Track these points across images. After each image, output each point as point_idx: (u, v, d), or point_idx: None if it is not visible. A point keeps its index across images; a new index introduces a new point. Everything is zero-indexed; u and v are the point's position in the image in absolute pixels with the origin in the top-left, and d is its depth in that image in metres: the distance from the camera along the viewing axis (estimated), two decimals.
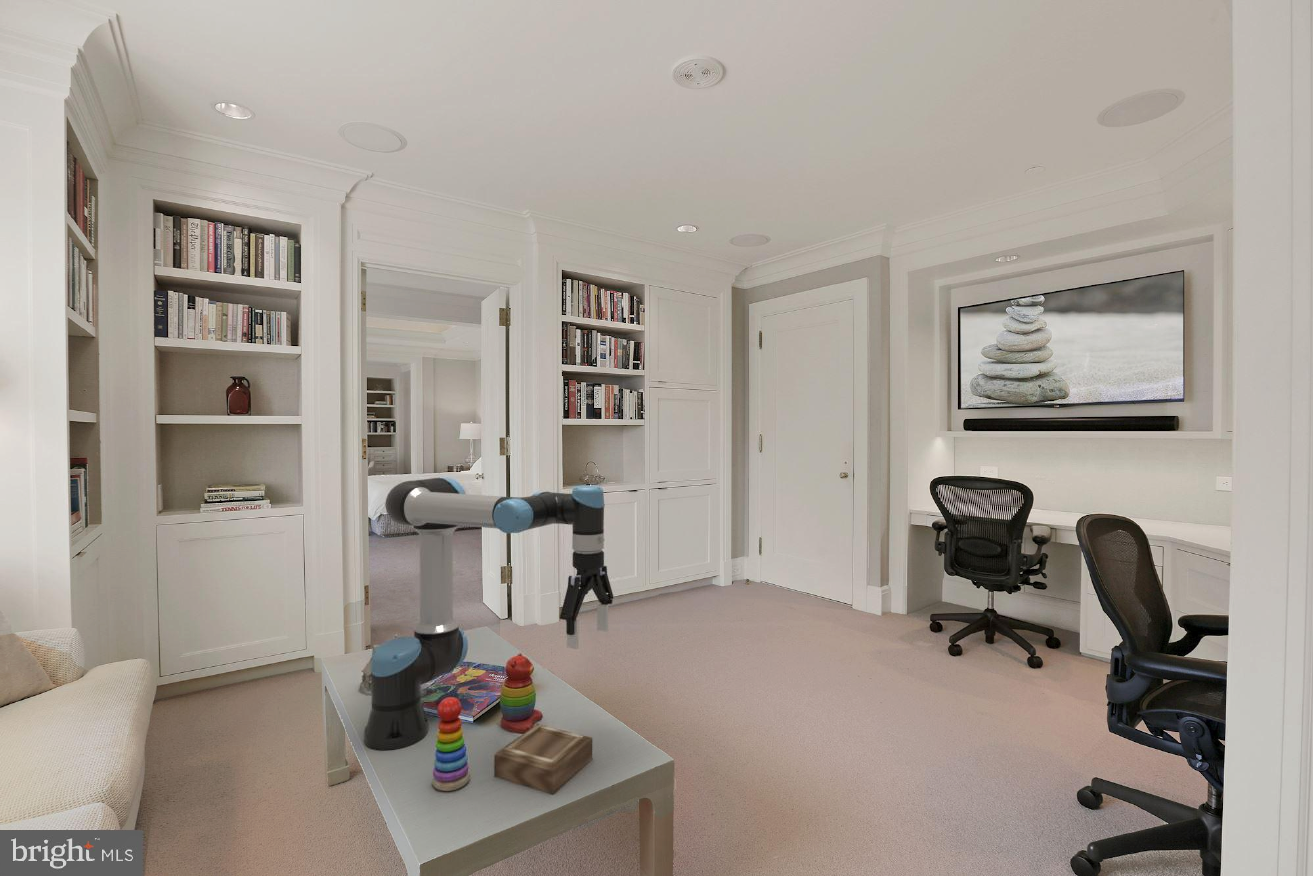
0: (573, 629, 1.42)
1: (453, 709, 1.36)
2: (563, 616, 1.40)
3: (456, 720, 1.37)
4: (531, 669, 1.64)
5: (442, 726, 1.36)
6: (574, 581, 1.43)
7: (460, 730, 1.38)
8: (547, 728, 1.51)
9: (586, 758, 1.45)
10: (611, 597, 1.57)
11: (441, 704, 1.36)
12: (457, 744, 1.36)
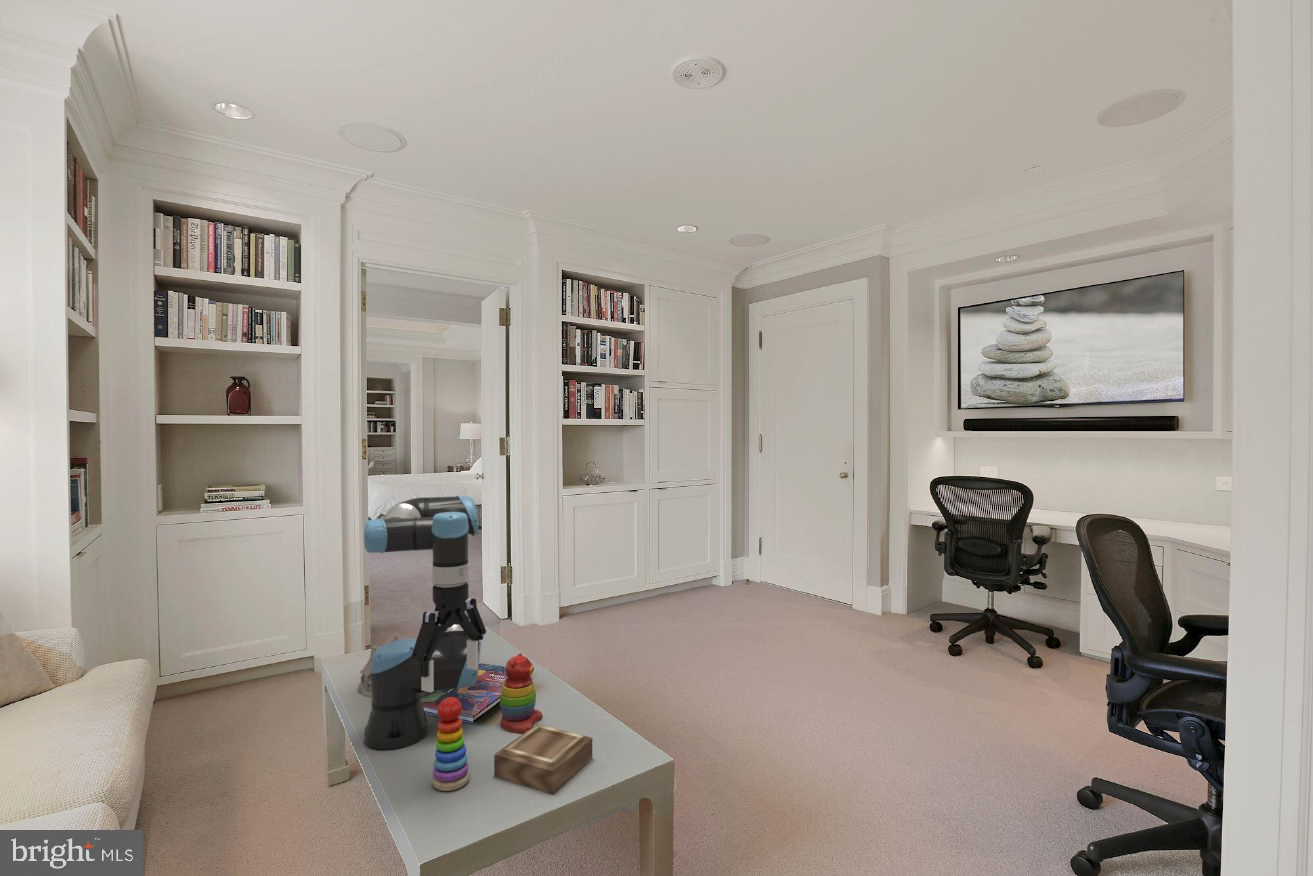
0: (427, 671, 1.30)
1: (453, 709, 1.36)
2: (414, 657, 1.28)
3: (456, 720, 1.37)
4: (531, 669, 1.64)
5: (442, 726, 1.36)
6: (428, 618, 1.31)
7: (460, 730, 1.38)
8: (547, 728, 1.51)
9: (586, 758, 1.45)
10: (483, 632, 1.45)
11: (441, 704, 1.36)
12: (457, 744, 1.36)
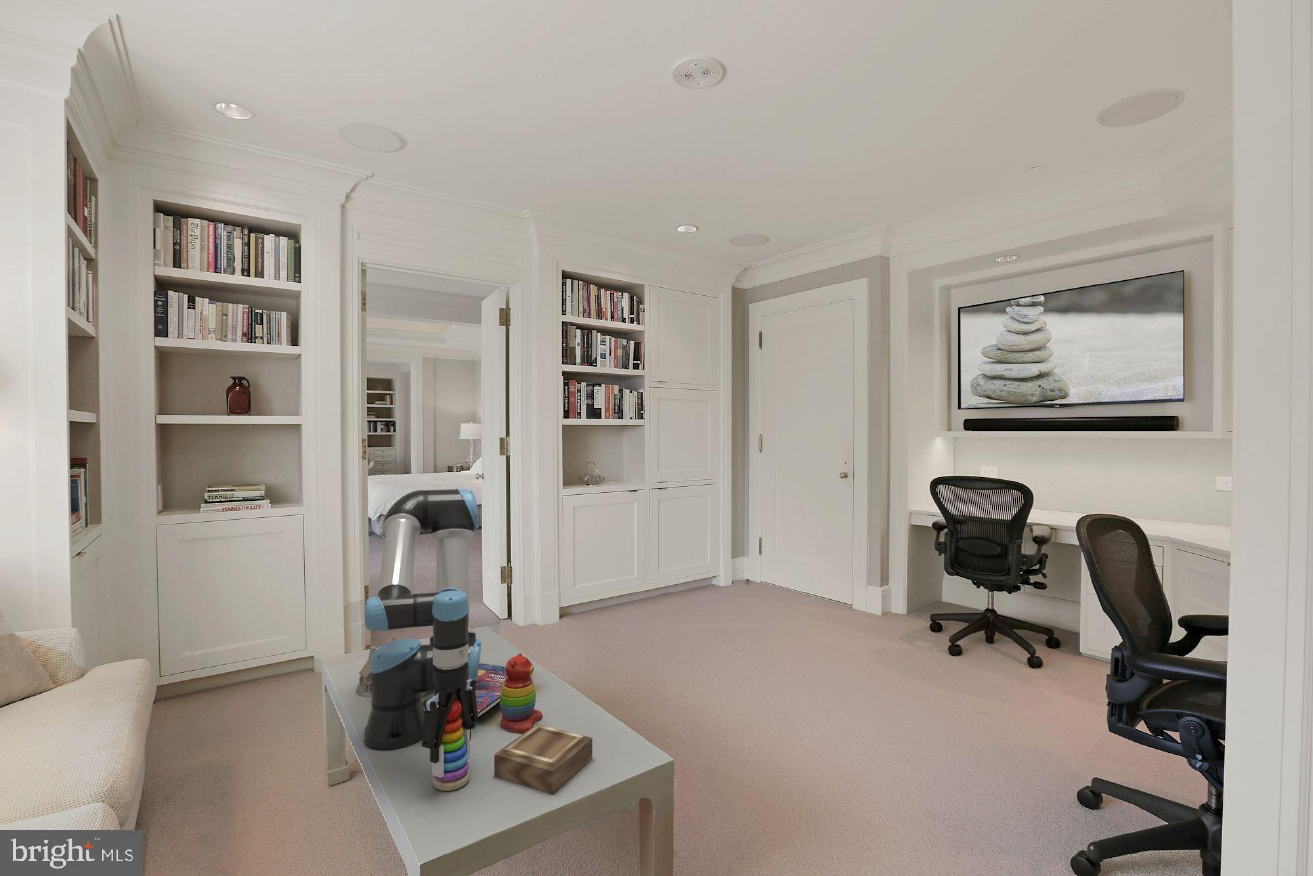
0: (438, 756, 1.33)
1: (453, 709, 1.36)
2: (424, 744, 1.31)
3: (456, 720, 1.37)
4: (531, 669, 1.64)
5: None
6: (430, 707, 1.31)
7: (460, 730, 1.38)
8: (547, 728, 1.51)
9: (586, 758, 1.45)
10: (475, 719, 1.43)
11: None
12: (458, 744, 1.36)
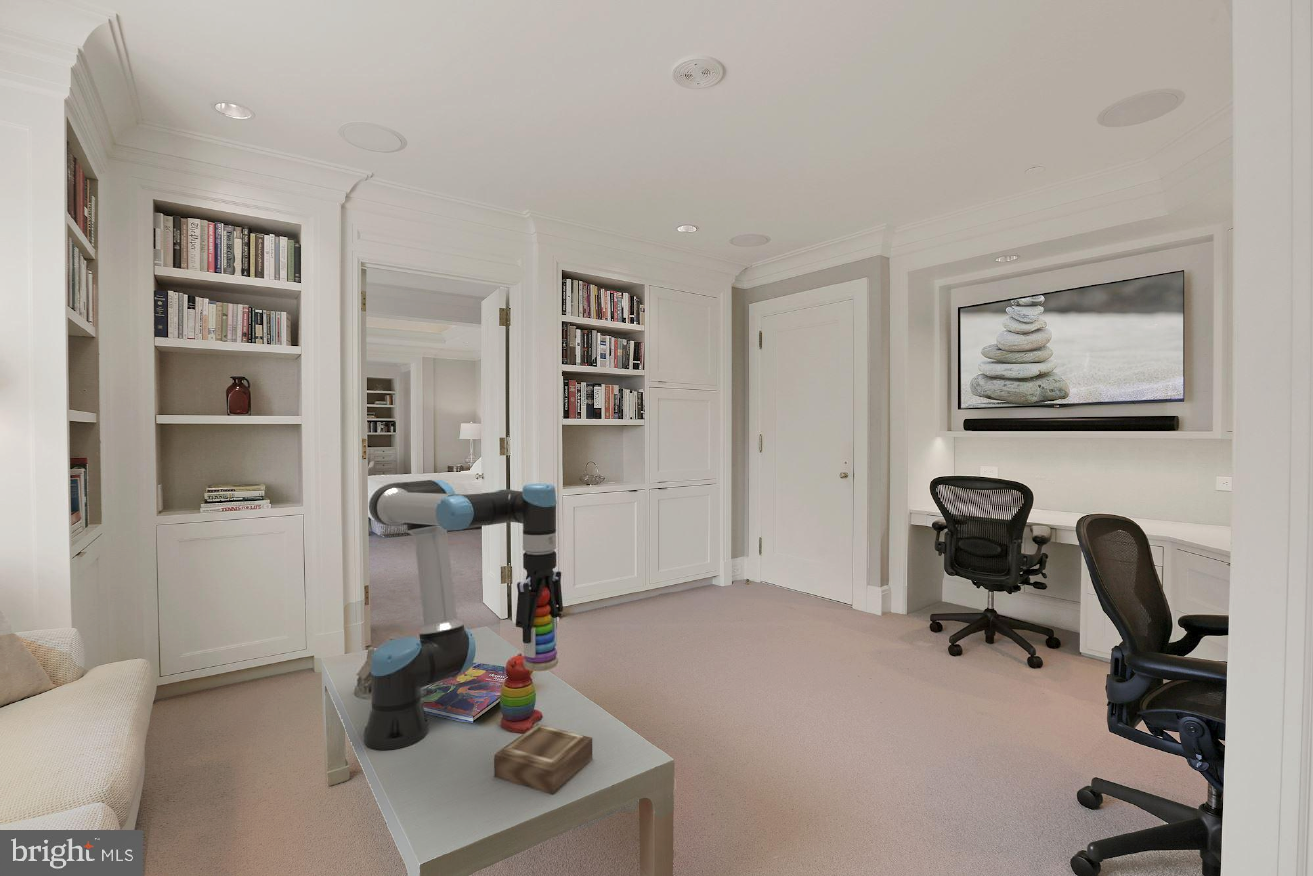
0: (530, 637, 1.39)
1: (543, 594, 1.41)
2: (518, 624, 1.37)
3: (545, 606, 1.43)
4: None
5: None
6: (523, 588, 1.37)
7: (549, 615, 1.43)
8: (547, 728, 1.51)
9: (586, 758, 1.45)
10: (560, 609, 1.48)
11: None
12: (547, 627, 1.41)
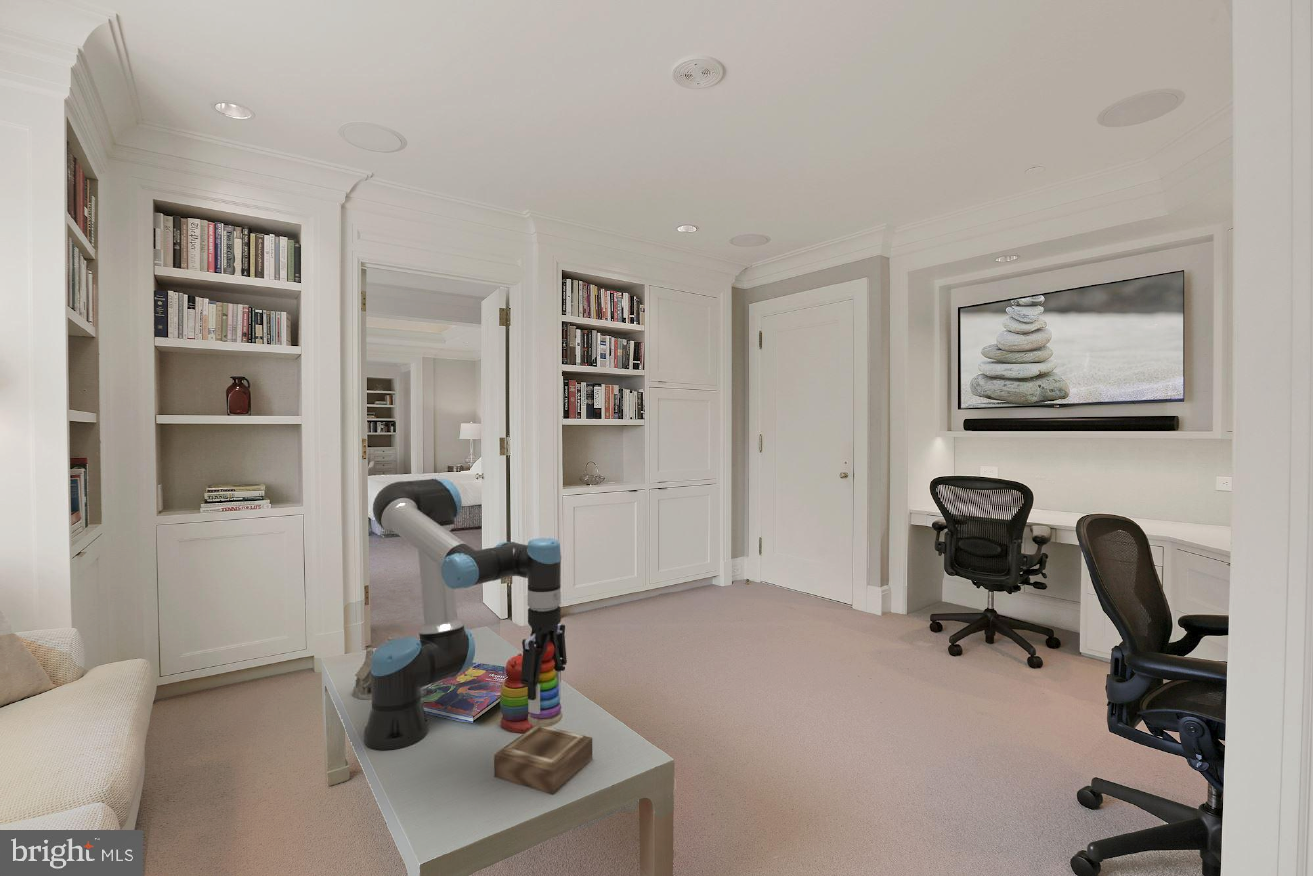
0: (535, 694, 1.39)
1: (548, 650, 1.42)
2: (523, 681, 1.37)
3: (550, 661, 1.43)
4: None
5: None
6: (528, 646, 1.37)
7: (553, 670, 1.44)
8: (547, 728, 1.51)
9: (586, 758, 1.45)
10: (564, 662, 1.49)
11: None
12: (552, 683, 1.42)
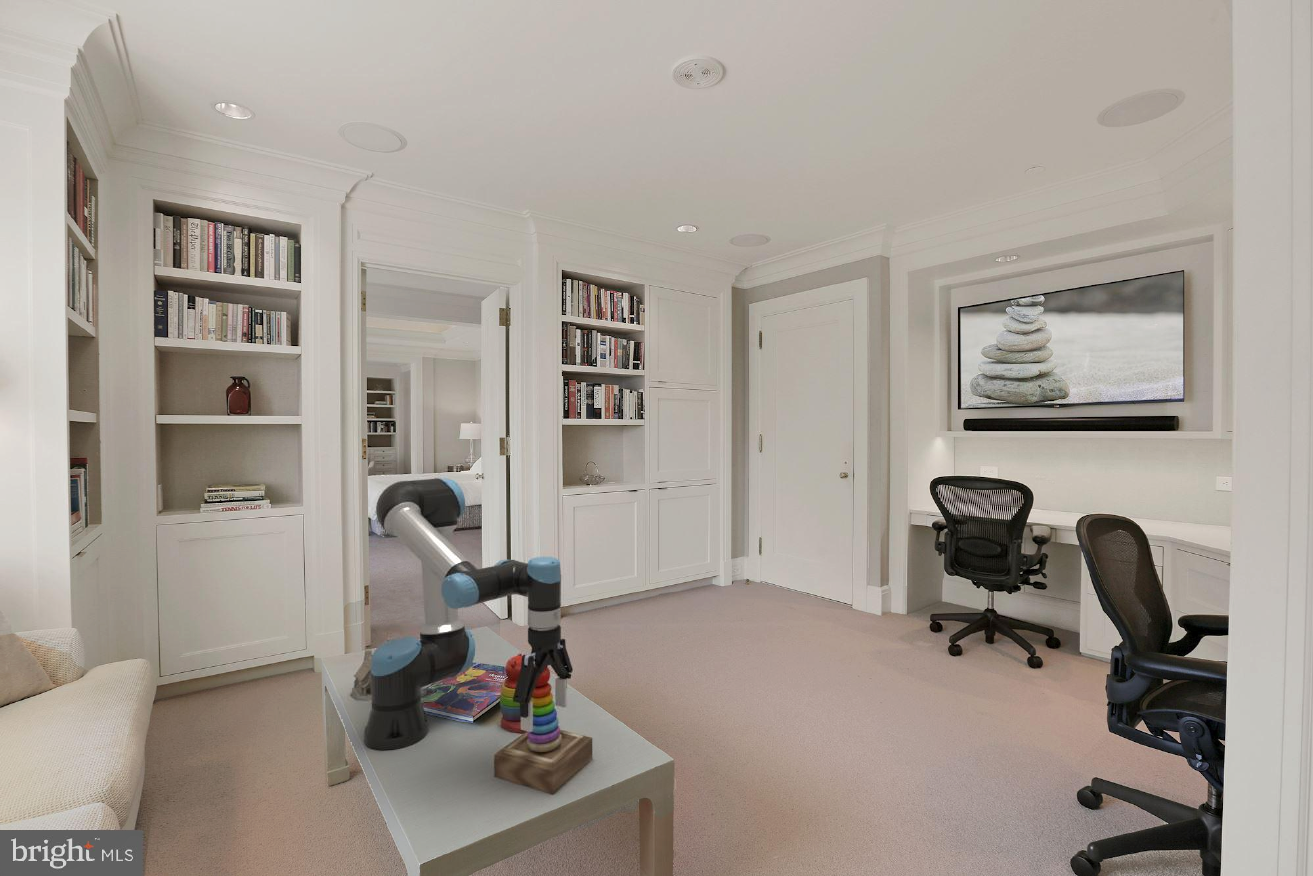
0: (527, 711, 1.37)
1: (544, 675, 1.42)
2: (516, 699, 1.35)
3: (546, 685, 1.43)
4: None
5: (534, 691, 1.42)
6: (528, 661, 1.37)
7: (550, 694, 1.44)
8: None
9: (586, 758, 1.45)
10: (570, 670, 1.51)
11: None
12: (549, 707, 1.42)
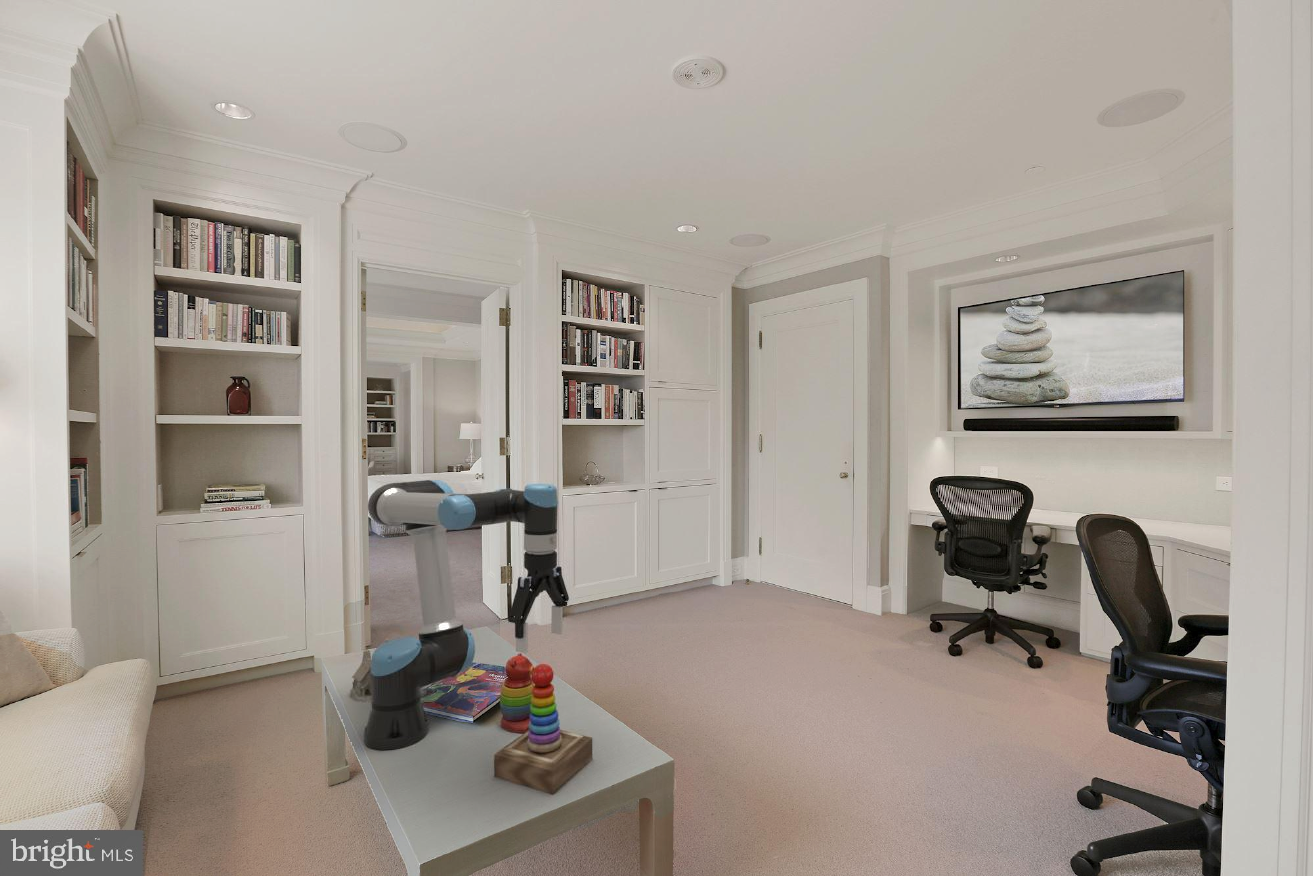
0: (522, 632, 1.37)
1: (547, 675, 1.42)
2: (511, 619, 1.35)
3: (549, 686, 1.44)
4: (531, 669, 1.64)
5: (536, 691, 1.42)
6: (523, 583, 1.38)
7: (553, 695, 1.44)
8: None
9: (586, 758, 1.45)
10: (566, 599, 1.52)
11: (535, 670, 1.43)
12: (552, 708, 1.42)
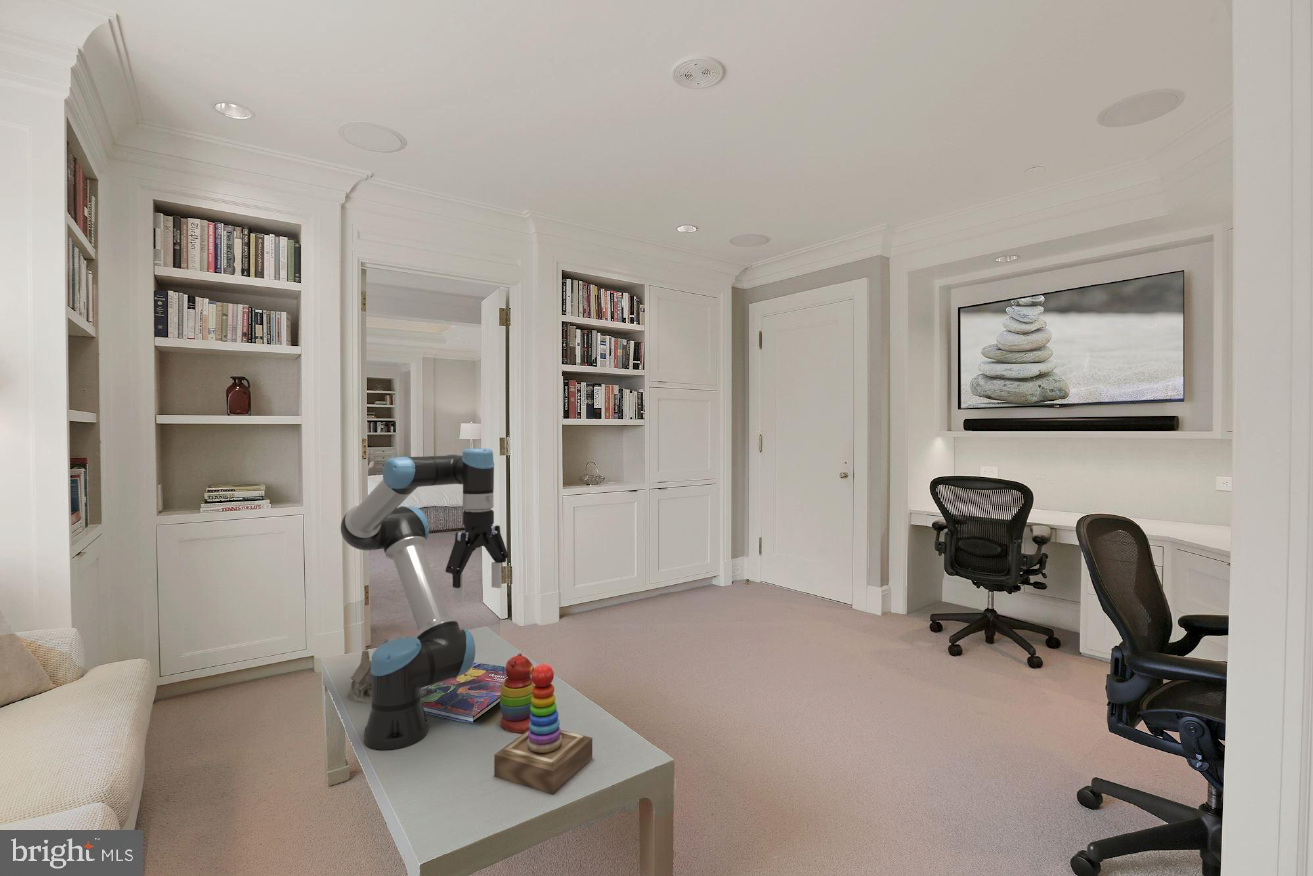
0: (459, 582, 1.50)
1: (548, 675, 1.42)
2: (448, 569, 1.48)
3: (549, 686, 1.43)
4: (531, 669, 1.64)
5: (537, 691, 1.42)
6: (460, 537, 1.50)
7: (553, 695, 1.44)
8: None
9: (586, 758, 1.45)
10: (505, 556, 1.65)
11: (535, 671, 1.42)
12: (552, 708, 1.42)
